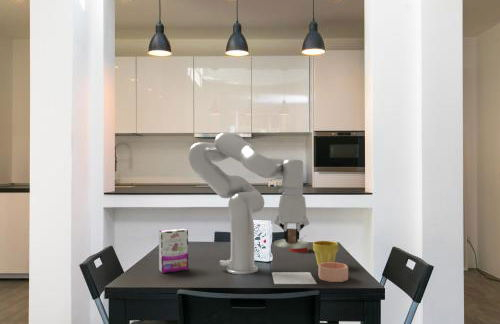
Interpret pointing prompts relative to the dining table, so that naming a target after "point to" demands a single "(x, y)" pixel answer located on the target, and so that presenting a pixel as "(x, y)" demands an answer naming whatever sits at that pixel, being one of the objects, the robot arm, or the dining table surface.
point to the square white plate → (293, 278)
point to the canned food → (300, 250)
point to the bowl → (333, 271)
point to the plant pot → (325, 251)
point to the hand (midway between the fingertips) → (291, 240)
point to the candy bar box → (173, 250)
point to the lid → (291, 241)
